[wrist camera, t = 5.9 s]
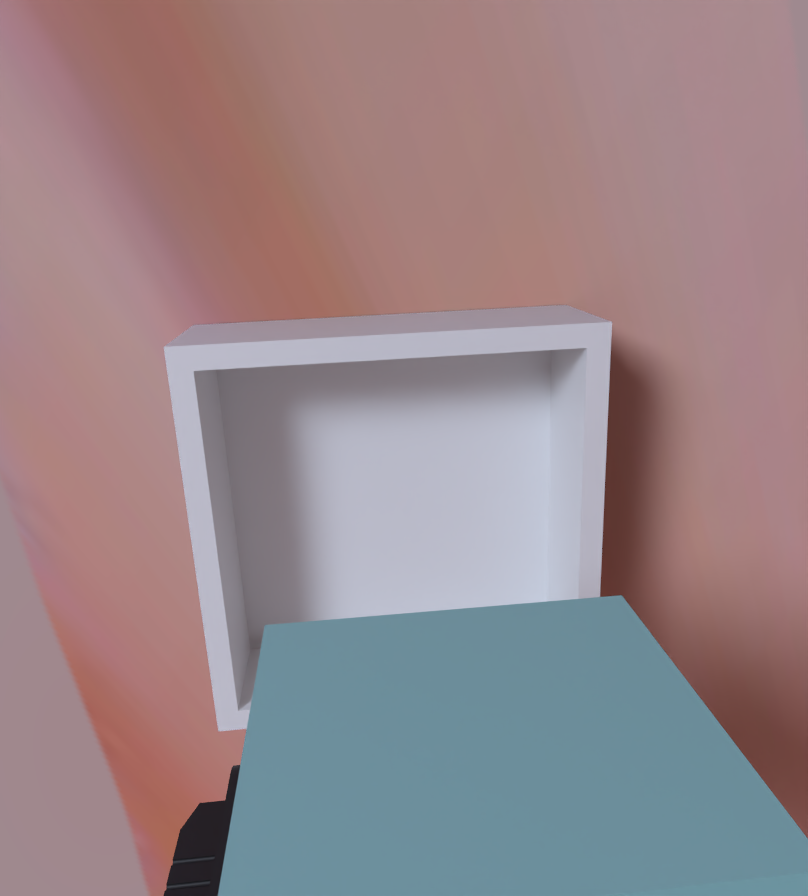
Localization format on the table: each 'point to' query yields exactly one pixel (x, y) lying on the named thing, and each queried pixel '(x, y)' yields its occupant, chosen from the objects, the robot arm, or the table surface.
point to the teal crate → (495, 764)
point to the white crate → (387, 469)
